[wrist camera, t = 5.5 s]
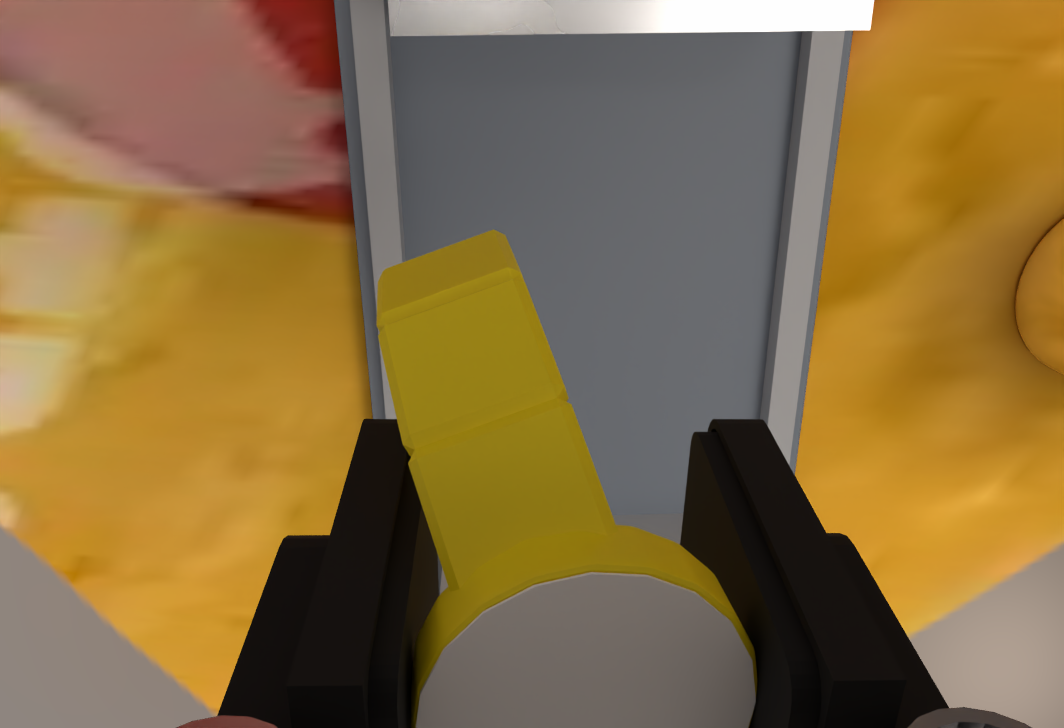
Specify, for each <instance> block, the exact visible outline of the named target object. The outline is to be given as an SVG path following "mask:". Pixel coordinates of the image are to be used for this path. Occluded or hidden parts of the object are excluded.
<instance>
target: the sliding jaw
mask: <svg viewBox="0 0 1064 728" xmlns="http://www.w3.org/2000/svg"><path fill="white" fill-rule="evenodd" d="M873 5H874V0H388V8H389V22H390V36H450V35H528V34H607V33H685V32H764V31H842V30H870V27H871V19H872V12H873Z"/></svg>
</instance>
